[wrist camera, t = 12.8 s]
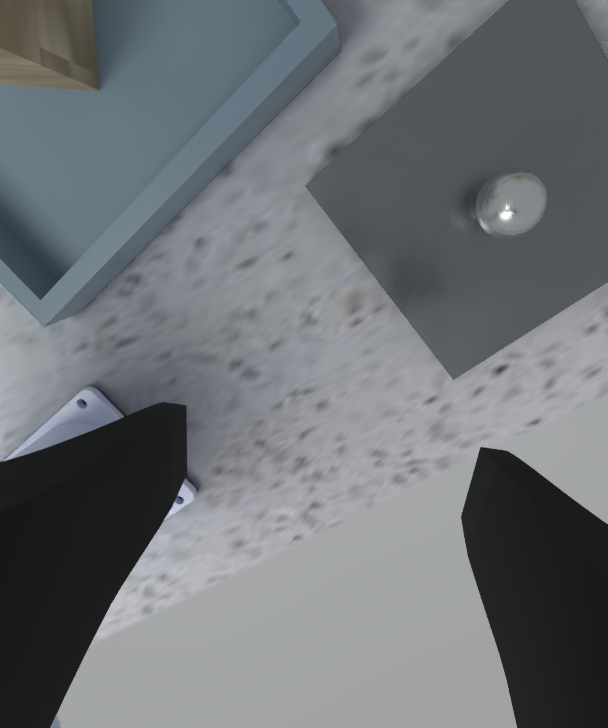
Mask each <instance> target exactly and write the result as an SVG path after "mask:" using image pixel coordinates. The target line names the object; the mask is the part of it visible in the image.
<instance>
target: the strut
mask: <svg viewBox="0 0 608 728" xmlns="http://www.w3.org/2000/svg"><path fill="white" fill-rule="evenodd" d="M0 85H3V86H21V87H40V88H59V89H77V90H96V91H100V88H99V77H98V66H97V54H96V43H95V31H94V20H93V9H92V0H0Z"/></svg>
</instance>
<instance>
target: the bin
mask: <svg viewBox="0 0 608 728" xmlns="http://www.w3.org/2000/svg"><path fill="white" fill-rule="evenodd" d="M92 9H93V20H94V31H95V43H96V54H97V66H98V77H99V88H100V91H96V90H77V89H59V88H40V87H21V86H3V85H0V283H1V284H2V285H3V286H4V287H5V288H6V289H7V290H8V291H9V292H10V293H11V294H12V295H13V296H14V297H15V298H16V299H17V300H18V301H19V302H20V303H21V304H22V305H23V306H24V307H25V308H26V309H27V310H28V311H29V312H30V313H31V314H32V315H33V316H34V317H35V318H36V319H37V320H38V321H39V322H40V323H41V324H42V325H43V326H44V327H45V326H48V325H50V324H53V323H55V322H58V321H60V320H63V319H65V318H68V317H70V316H73V315H76V314H78V313H80V312H81V311H82V310H83V309H84V308H85V307H86V306H87V305H88V304H89V303H90V302H91V301H92V300H93V299H94V298H95V297H96V296H97V295H98V294H99V293H100V292H101V291H102V290H103V289H104V288H105V287H106V286H107V285H108V284H109V283H110V282H111V281H112V280H113V279H114V278H115V277H116V276H117V275H118V274H119V273H120V272H121V271H122V270H123V269H124V268H125V267H126V266H127V265H128V264H129V263H130V262H131V261H132V260H133V259H134V258H135V257H136V256H137V255H138V254H139V253H140V252H141V251H142V250H143V249H144V248H145V247H146V246H147V245H148V244H149V243H150V242H151V241H152V240H153V239H154V238H155V237H156V236H157V235H158V234H159V233H160V232H161V231H162V230H163V229H164V228H165V227H166V226H167V225H168V224H169V223H170V222H171V221H172V220H173V219H174V218H175V217H176V216H177V215H178V214H179V213H180V212H181V211H182V210H183V209H184V208H185V207H186V206H187V205H188V204H189V203H190V202H191V201H192V200H193V199H194V198H195V197H196V196H197V195H198V194H199V193H200V192H201V191H202V190H203V189H204V188H205V187H206V186H207V185H208V184H209V183H210V182H211V181H212V180H213V179H214V178H215V177H216V176H217V175H218V174H219V173H220V172H221V171H222V170H223V169H224V168H225V167H226V166H227V165H228V164H229V163H230V162H231V161H232V160H233V159H234V158H235V157H236V156H237V155H238V154H239V153H240V152H241V151H242V150H243V149H244V148H245V147H246V146H247V145H248V144H249V143H250V142H251V141H252V140H253V139H254V138H255V137H256V136H257V135H258V134H259V133H260V132H261V131H262V130H263V129H264V128H265V127H266V126H267V125H268V124H269V123H270V122H271V121H272V120H273V119H274V118H275V117H276V116H277V115H278V114H279V113H280V112H281V111H282V110H283V109H284V108H285V107H286V106H287V105H288V104H289V103H290V102H291V101H292V100H293V99H294V98H295V97H296V96H297V95H298V94H299V93H300V92H301V91H302V90H303V89H304V88H305V87H306V86H307V85H308V84H309V83H310V82H311V81H312V80H313V79H314V78H315V77H316V76H317V75H318V74H319V73H320V72H321V71H322V70H323V68H324V67H325V66H326V65H327V64H328V63H329V62H330V61H331V60H332V59H333V58H334V57H335V56H336V55H337V54H338V53H339V52H340V51H341V46H340V38H339V30H338V24H337V22H336V21H335V19H334V18H333V16H332V15H331V13H330V12H329V11H328V9H327V8H326V6H325V5H324V3H323V2H322V0H92Z"/></svg>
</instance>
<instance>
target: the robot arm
mask: <svg viewBox="0 0 608 728" xmlns="http://www.w3.org/2000/svg"><path fill="white" fill-rule="evenodd" d="M82 399H83V400H84V401H85V402H86V403H87V405H85V404H84V403H83V402H82ZM186 475H187V424H186V405H179V404H172V403H165V402H162V403H159V404H155V405H153V406H150V407H147V408H145V409H142V410H140V411H137V412H135V413H132V414H130V415H128V416H125V417H124V416H123V415H122V414H121V413H120V412H119V411H118V410H117V409H116V408H115V407H114V406H113V405H112V404H111V403H110V402H109V401H108V400H107V399H106V398H105V397H104V396H103V395H102V394H101V393H100V392H99V391H98V390H97V389H96V388H94V387H91V386H90V387H86V388H84V389H83V390H81V391H80V392H79V393H78V394H77V395H76V396H74V397H73V398H72V399H71V400H70V401H69V402H68V403H67V404H66V405H65V406H63V407H62V408H61V409H60V410H59V411H58V412H57V413H56V414H55V415H54V416H52V417H51V418H50V419H49V420H48V421H47V422H46V423H45V424H44V425H43V426H41V427H40V428H39V429H38V430H37V431H36V432H35V433H34V434H33V435H31V436H30V437H29V438H28V439H27V440H26V441H25V442H24V443H23V444H22V445H20V446H19V447H18V448H17V449H16V450H15V451H14V452H13V453H12V454H11V455H9V456H8V457H7V458H6V459H5V460H4V461H3V462H0V728H60V721H59V719H58V717H57V712H58V710H59V708H60V705H61V703H62V701H63V699H64V697H65V695H66V693H67V691H68V689H69V687H70V685H71V683H72V681H73V678H74V676H75V674H76V672H77V670H78V668H79V666H80V664H81V662H82V660H83V658H84V656H85V654H86V652H87V650H88V648H89V646H90V644H91V642H92V640H93V638H94V636H95V634H96V632H97V630H98V628H99V626H100V624H101V622H102V621H103V619H104V617H105V615H106V613H107V611H108V609H109V607H110V605H111V603H112V602H113V600H114V598H115V597H116V595H117V593H118V591H119V590H120V588H121V586H122V585H123V583H124V582H125V580H126V579H127V577H128V576H129V574H130V572H131V571H132V569H133V568H134V566H135V565H136V563H137V562H138V560H139V558H140V557H141V555H142V554H143V552H144V551H145V549H146V548H147V546H148V544H149V543H150V541H151V540H152V538H153V537H154V535H155V534H156V532H157V530H158V529H159V527H160V526H161V524H162V522H163V521H165V520H166V519H168V518H169V517H171V516H172V515H173V514H175V513H176V512H178V511H179V510H181V509H182V508H184V507H185V506H187V505H188V504H190V503H191V502H192V501H193V500H194V499H195V497H196V495H197V491H196V489H195V487H194V486H193V485H192V484H191V483H190V482H189V481H188V480H187V479H186V478H185V477H186ZM178 496H180V497H182V498H183V499H180V498H178ZM461 519H462V525H463V531H464V537H465V543H466V548H467V553H468V557H469V561H470V564H471V568H472V570H473V574H474V577H475V580H476V583H477V586H478V590H479V593H480V596H481V599H482V602H483V605H484V608H485V611H486V614H487V617H488V620H489V623H490V627H491V629H492V633H493V635H494V638H495V642H496V645H497V648H498V651H499V654H500V658H501V661H502V665H503V668H504V672H505V676H506V679H507V683H508V688H509V693H510V697H511V701H512V706H513V711H514V715H515V719H516V724H517V728H608V524H606V523H605V522H603V521H602V520H600V519H599V518H598V517H596V516H595V515H594V514H592V513H591V512H590V511H588V510H587V509H585V508H584V507H583V506H581V505H580V504H579V503H577V502H576V501H574V500H573V499H572V498H571V497H569V496H568V495H567V494H565V493H564V492H563V491H561V490H560V489H559V488H557V487H556V486H555V485H553V484H552V483H551V482H550V481H548V480H547V479H546V478H544V477H543V476H542V475H541V474H539V473H538V472H537V471H535V470H534V469H533V468H531V467H530V466H529V465H527V464H526V463H524V462H523V461H522V460H520V459H519V458H518V457H516V456H515V455H513V454H511V453H510V452H508V451H504V450H497V449H490V448H483V447H480V451H479V455H478V458H477V462H476V466H475V470H474V472H473V477H472V480H471V483H470V487H469V491H468V494H467V498H466V501H465V505H464V508H463V512H462V516H461Z"/></svg>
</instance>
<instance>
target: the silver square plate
mask: <svg viewBox="0 0 608 728" xmlns="http://www.w3.org/2000/svg"><path fill="white" fill-rule="evenodd" d="M306 188H307V189H308V190H309V192H310V193H311V194H312V195H313V197H314V198H315V199H316V201H317V202H318V203H319V205H320V206H321V207H322V209H323V210H324V211H325V212H326V214H327V215H328V216H329V218H330V219H331V220H332V222H333V223H334V224H335V226H336V227H337V228H338V229H339V231H340V232H341V233H342V235H343V236H344V237H345V239H346V240H347V241H348V243H349V244H350V245H351V246H352V248H353V249H354V250H355V252H356V253H357V254H358V256H359V257H360V258H361V260H362V261H363V262H364V263H365V265H366V266H367V267H368V269H369V270H370V271H371V273H372V274H373V275H374V277H375V278H376V279H377V280H378V282H379V283H380V284H381V286H382V287H383V288H384V290H385V291H386V292H387V294H388V295H389V296H390V297H391V299H392V300H393V301H394V303H395V304H396V305H397V307H398V308H399V309H400V311H401V312H402V313H403V314H404V316H405V317H406V318H407V320H408V321H409V322H410V324H411V325H412V326H413V328H414V329H415V330H416V331H417V333H418V334H419V335H420V337H421V338H422V339H423V341H424V342H425V343H426V345H427V346H428V347H429V348H430V350H431V351H432V352H433V354H434V355H435V356H436V358H437V359H438V360H439V362H440V363H441V364H442V365H443V367H444V368H445V369H446V371H447V372H448V373H449V375H450V376H451V377H452V379H453V380H454V379H455V378H457V377H459V376H460V375H462V374H463V373H465V372H467V371H468V370H470V369H471V368H473V367H474V366H476V365H478V364H479V363H481V362H482V361H484V360H485V359H487V358H489V357H490V356H492V355H493V354H495V353H496V352H498V351H500V350H501V349H503V348H504V347H506V346H507V345H509V344H511V343H512V342H514V341H515V340H517V339H518V338H520V337H522V336H523V335H525V334H526V333H528V332H529V331H531V330H533V329H534V328H536V327H537V326H539V325H541V324H542V323H544V322H545V321H547V320H548V319H550V318H552V317H553V316H555V315H556V314H558V313H559V312H561V311H563V310H564V309H566V308H567V307H569V306H570V305H572V304H574V303H575V302H577V301H578V300H580V299H581V298H583V297H585V296H586V295H588V294H589V293H591V292H592V291H594V290H596V289H597V288H599V287H600V286H602V285H604V284H605V283H607V282H608V60H607V58H606V56H605V54H604V52H603V51H602V49H601V47H600V45H599V43H598V42H597V40H596V38H595V36H594V34H593V33H592V31H591V29H590V27H589V25H588V24H587V22H586V20H585V18H584V17H583V15H582V13H581V11H580V9H579V8H578V6H577V4H576V2H575V0H509V1H508V2H507V3H506V4H505V5H504V6H503V7H501V8H500V9H499V10H498V11H497V12H496V13H495V14H494V15H493V16H492V17H490V18H489V19H488V20H487V21H486V22H485V23H484V24H483V25H482V26H481V27H479V28H478V29H477V30H476V31H475V32H474V33H473V34H472V35H471V36H470V37H468V38H467V39H466V40H465V41H464V42H463V43H462V44H461V45H460V46H459V47H457V48H456V49H455V50H454V51H453V52H452V53H451V54H450V55H449V56H448V57H446V58H445V59H444V60H443V61H442V62H441V63H440V64H439V65H438V66H437V67H435V68H434V69H433V70H432V71H431V72H430V73H429V74H428V75H427V76H426V77H424V78H423V79H422V80H421V81H420V82H419V83H418V84H417V85H416V86H415V87H413V88H412V89H411V90H410V91H409V92H408V93H407V94H406V95H405V96H404V97H402V98H401V99H400V100H399V101H398V102H397V103H396V104H395V105H394V106H393V107H392V108H390V109H389V110H388V111H387V112H386V113H385V114H384V115H383V116H382V117H381V118H379V119H378V120H377V121H376V122H375V123H374V124H373V125H372V126H371V127H370V128H368V129H367V130H366V131H365V132H364V133H363V134H362V135H361V136H360V137H359V138H357V139H356V140H355V141H354V142H353V143H352V144H351V145H350V146H349V147H348V148H346V149H345V150H344V151H343V152H342V153H341V154H340V155H339V156H338V157H337V158H335V159H334V160H333V161H332V162H331V163H330V164H329V165H328V166H327V167H326V168H324V169H323V170H322V171H321V172H320V173H319V174H318V175H317V176H316V177H315V178H313V179H312V180H311V181H310V182H309V183H308V184H307V185H306Z"/></svg>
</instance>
